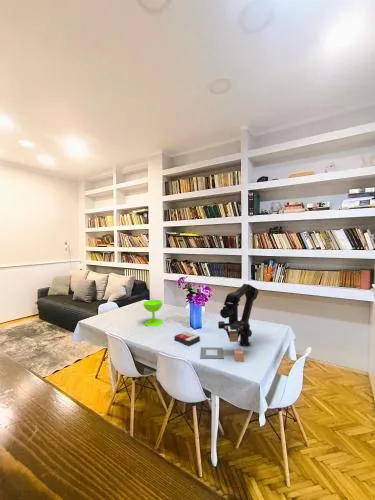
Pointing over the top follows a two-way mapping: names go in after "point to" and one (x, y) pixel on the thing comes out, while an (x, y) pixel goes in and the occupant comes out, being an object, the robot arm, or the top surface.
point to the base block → (233, 336)
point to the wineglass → (153, 307)
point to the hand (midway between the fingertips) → (233, 338)
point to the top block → (239, 355)
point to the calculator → (187, 338)
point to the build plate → (211, 353)
